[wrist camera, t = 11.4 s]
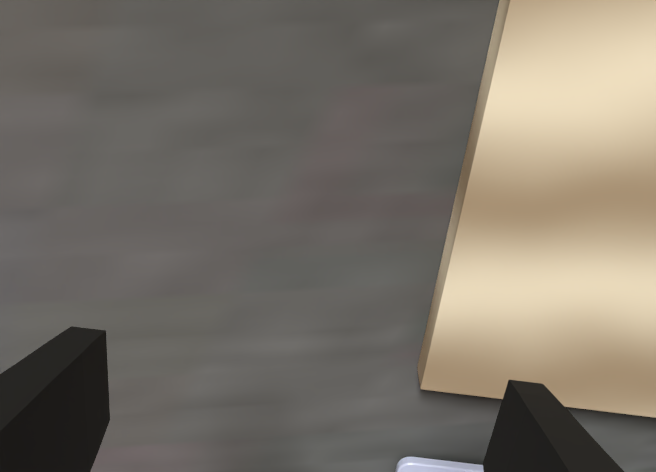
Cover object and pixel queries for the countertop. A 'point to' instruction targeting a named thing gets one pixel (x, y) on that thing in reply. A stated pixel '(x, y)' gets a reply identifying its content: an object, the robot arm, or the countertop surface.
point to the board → (555, 214)
